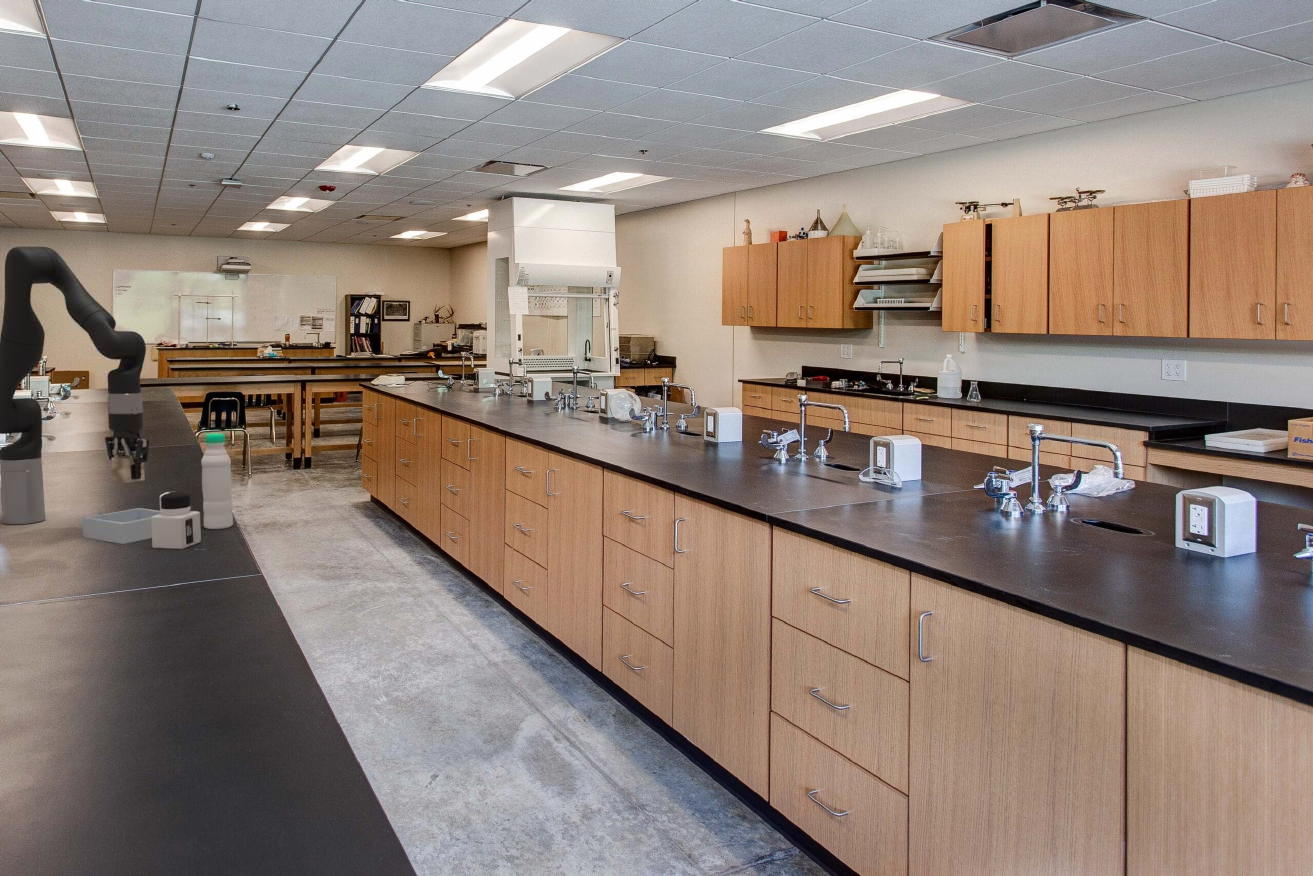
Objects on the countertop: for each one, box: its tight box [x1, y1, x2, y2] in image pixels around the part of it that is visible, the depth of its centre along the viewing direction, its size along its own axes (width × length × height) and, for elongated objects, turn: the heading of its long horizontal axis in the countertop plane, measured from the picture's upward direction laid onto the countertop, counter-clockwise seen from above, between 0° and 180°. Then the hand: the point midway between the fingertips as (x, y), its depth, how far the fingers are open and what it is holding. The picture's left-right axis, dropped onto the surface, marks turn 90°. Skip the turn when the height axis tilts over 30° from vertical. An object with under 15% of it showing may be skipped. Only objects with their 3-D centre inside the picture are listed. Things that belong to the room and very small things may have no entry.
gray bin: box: [82, 507, 162, 545], centre depth 227 cm, size 15×15×5 cm
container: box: [151, 490, 202, 550], centre depth 216 cm, size 8×8×13 cm
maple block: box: [111, 455, 146, 484], centre depth 225 cm, size 5×5×6 cm
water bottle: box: [200, 432, 234, 530], centre depth 236 cm, size 7×7×25 cm
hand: (128, 477), depth 225 cm, fingers closed on maple block, 5 cm apart
